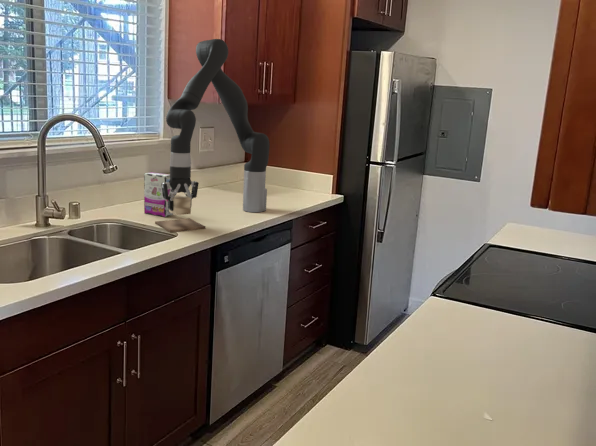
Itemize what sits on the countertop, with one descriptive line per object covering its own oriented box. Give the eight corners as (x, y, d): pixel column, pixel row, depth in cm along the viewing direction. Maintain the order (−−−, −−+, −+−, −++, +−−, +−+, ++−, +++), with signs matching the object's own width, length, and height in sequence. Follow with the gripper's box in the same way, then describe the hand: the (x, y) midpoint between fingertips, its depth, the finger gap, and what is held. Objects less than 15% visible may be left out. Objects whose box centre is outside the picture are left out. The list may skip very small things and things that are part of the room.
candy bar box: (173, 215, 236) (173, 174, 232) (165, 217, 231) (165, 176, 227) (152, 211, 241) (152, 171, 237) (143, 213, 236) (143, 172, 232)
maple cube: (184, 210, 222) (184, 195, 221) (190, 213, 217) (190, 198, 216) (169, 211, 219) (169, 195, 217) (175, 215, 214) (175, 198, 213)
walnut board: (189, 220, 229) (189, 218, 229) (205, 228, 218) (205, 226, 217) (155, 223, 221) (155, 221, 221) (169, 232, 210) (169, 230, 210)
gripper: (194, 162, 221) (193, 206, 225) (157, 163, 213) (157, 209, 217) (202, 165, 215) (201, 210, 219) (165, 166, 207) (165, 213, 211)
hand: (179, 209), depth 218 cm, fingers closed on maple cube, 6 cm apart
